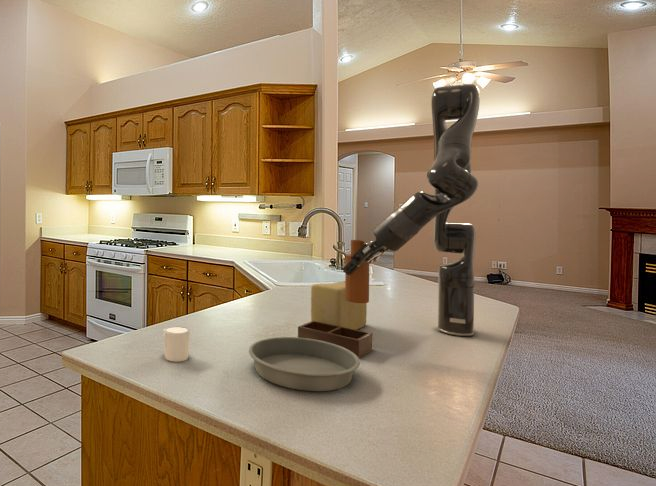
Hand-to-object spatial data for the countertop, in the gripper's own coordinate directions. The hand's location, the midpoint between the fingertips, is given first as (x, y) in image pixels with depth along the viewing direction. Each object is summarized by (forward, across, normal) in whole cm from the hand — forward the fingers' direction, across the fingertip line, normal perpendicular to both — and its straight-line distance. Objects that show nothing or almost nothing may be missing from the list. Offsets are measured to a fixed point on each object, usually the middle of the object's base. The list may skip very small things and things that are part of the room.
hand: (350, 270), depth 120 cm
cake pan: (+16, +24, +14) cm, 32 cm away
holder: (+18, +1, +12) cm, 22 cm away
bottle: (+4, 0, +7) cm, 8 cm away
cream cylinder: (+35, +38, -5) cm, 52 cm away
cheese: (+21, -16, +9) cm, 28 cm away
